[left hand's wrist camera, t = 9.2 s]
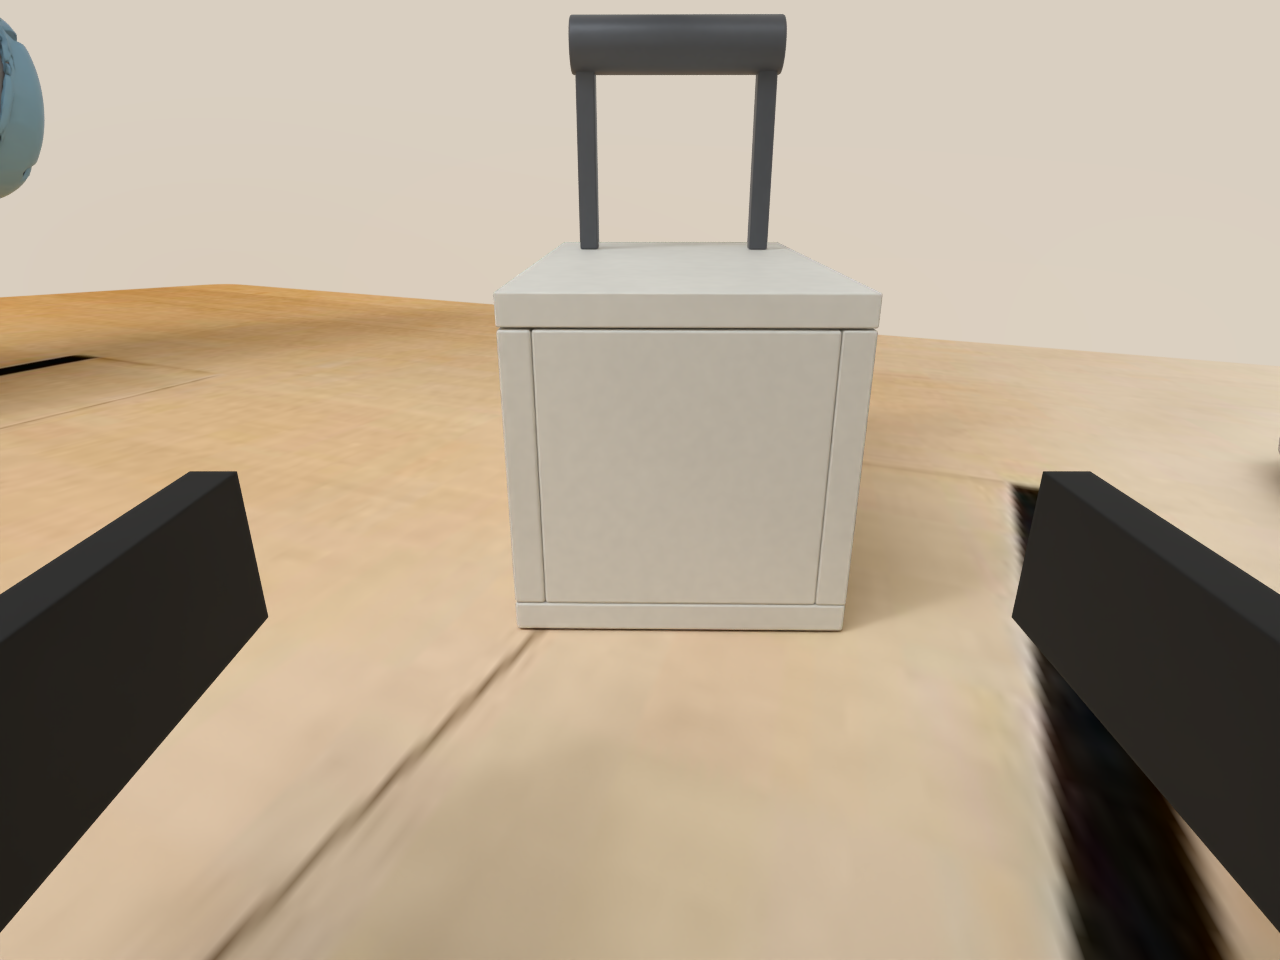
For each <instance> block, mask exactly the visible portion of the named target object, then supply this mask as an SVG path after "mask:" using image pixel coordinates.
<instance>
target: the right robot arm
mask: <svg viewBox="0 0 1280 960" xmlns="http://www.w3.org/2000/svg"><path fill="white" fill-rule="evenodd" d="M43 134H44V105H43V97H42V92H41V86H40V82H39V79H38V75H37V72H36V69H35V67H34V64H33V62H32V59H31V57H30V55H29V53H28V51H27V49H26V48H25V46H24V45H23V44H21V43H19V42H17V35H16V33H15V32H14V31H13V30H12V28H11V27H10V26H9V25H8V24H7V23H6V22H5V21H4V20H2V19H1V18H0V198H2V197H5V196H7V195H9V194H11V193H12V192H14V191H15V190H17V189H18V188H19V187H20V186H21V185H22V184H23V183H24V182H25V181H26V179H27V177H28V176H29V175H30V172H31V167H32V166H33V165H34V164H36V162H37V160H38V157H39V154H40V150H41V146H42V141H43Z"/></svg>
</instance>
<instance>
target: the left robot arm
mask: <svg viewBox="0 0 1280 960" xmlns="http://www.w3.org/2000/svg"><path fill="white" fill-rule="evenodd" d="M267 618H268V613H267V609H266V604H265V600H264V595H263V590H262V586H261V581H260V576H259V572H258V567H257V562H256V558H255V553H254V549H253V544H252V539H251V535H250V530H249V525H248V521H247V516H246V512H245V507H244V502H243V498H242V493H241V488H240V484H239V479H238V474H237V471H190V472H188V473H187V474H185V475H184V476H182V477H181V478H179V479H177V480H176V481H174V482H173V483H171V484H170V485H168V486H167V487H165V488H164V489H162V490H161V491H159V492H157V493H156V494H154V495H153V496H151V497H150V498H148V499H147V500H145V501H144V502H142V503H140V504H139V505H137V506H136V507H134V508H133V509H131V510H130V511H128V512H127V513H125V514H124V515H122V516H120V517H119V518H117V519H116V520H114V521H113V522H111V523H110V524H108V525H107V526H105V527H103V528H102V529H100V530H99V531H97V532H96V533H94V534H93V535H91V536H90V537H88V538H87V539H85V540H83V541H82V542H80V543H79V544H77V545H76V546H74V547H73V548H71V549H70V550H68V551H66V552H65V553H63V554H62V555H60V556H59V557H57V558H56V559H54V560H53V561H51V562H50V563H48V564H46V565H45V566H43V567H42V568H40V569H39V570H37V571H36V572H34V573H33V574H31V575H30V576H28V577H26V578H25V579H23V580H22V581H20V582H19V583H17V584H16V585H14V586H13V587H11V588H9V589H8V590H6V591H5V592H3V593H2V594H0V932H1V931H2V930H3V929H4V928H5V926H6V925H7V924H8V923H9V922H10V921H11V919H12V918H13V917H14V916H15V915H16V913H17V912H18V911H19V910H20V909H21V908H22V906H23V905H24V904H25V903H26V902H27V901H28V899H29V898H30V897H31V896H32V895H33V893H34V892H35V891H36V890H37V889H38V888H39V886H40V885H41V884H42V883H43V882H44V881H45V879H46V878H47V877H48V876H49V875H50V873H51V872H52V871H53V870H54V869H55V868H56V866H57V865H58V864H59V863H60V862H61V860H62V859H63V858H64V857H65V856H66V855H67V853H68V852H69V851H70V850H71V849H72V848H73V846H74V845H75V844H76V843H77V842H78V840H79V839H80V838H81V837H82V836H83V835H84V833H85V832H86V831H87V830H88V829H89V828H90V826H91V825H92V824H93V823H94V822H95V820H96V819H97V818H98V817H99V816H100V815H101V813H102V812H103V811H104V810H105V809H106V808H107V806H108V805H109V804H110V803H111V802H112V800H113V799H114V798H115V797H116V796H117V795H118V793H119V792H120V791H121V790H122V789H123V787H124V786H125V785H126V784H127V783H128V782H129V780H130V779H131V778H132V777H133V776H134V775H135V773H136V772H137V771H138V770H139V769H140V767H141V766H142V765H143V764H144V763H145V762H146V760H147V759H148V758H149V757H150V756H151V755H152V753H153V752H154V751H155V750H156V749H157V747H158V746H159V745H160V744H161V743H162V742H163V740H164V739H165V738H166V737H167V736H168V735H169V733H170V732H171V731H172V730H173V729H174V727H175V726H176V725H177V724H178V723H179V722H180V720H181V719H182V718H183V717H184V716H185V715H186V713H187V712H188V711H189V710H190V709H191V707H192V706H193V705H194V704H195V703H196V702H197V700H198V699H199V698H200V697H201V696H202V694H203V693H204V692H205V691H206V690H207V689H208V687H209V686H210V685H211V684H212V683H213V682H214V680H215V679H216V678H217V677H218V676H219V674H220V673H221V672H222V671H223V670H224V669H225V667H226V666H227V665H228V664H229V663H230V662H231V660H232V659H233V658H234V657H235V656H236V654H237V653H238V652H239V651H240V650H241V649H242V647H243V646H244V645H245V644H246V643H247V642H248V640H249V639H250V638H251V637H252V636H253V634H254V633H255V632H256V631H257V630H258V629H259V627H260V626H261V625H262V624H263V623H264V621H265V620H266V619H267ZM1012 618H1013V619H1014V620H1015V621H1016V623H1017V624H1018V625H1019V626H1020V627H1021V629H1022V630H1023V631H1024V632H1025V633H1026V634H1027V636H1028V637H1029V638H1030V639H1031V640H1032V642H1033V643H1034V644H1035V645H1036V646H1037V647H1038V649H1039V650H1040V651H1041V652H1042V653H1043V654H1044V656H1045V657H1046V658H1047V659H1048V660H1049V662H1050V663H1051V664H1052V665H1053V666H1054V667H1055V669H1056V670H1057V671H1058V672H1059V673H1060V674H1061V676H1062V677H1063V678H1064V679H1065V680H1066V682H1067V683H1068V684H1069V685H1070V686H1071V687H1072V689H1073V690H1074V691H1075V692H1076V693H1077V694H1078V696H1079V697H1080V698H1081V699H1082V700H1083V702H1084V703H1085V704H1086V705H1087V706H1088V707H1089V709H1090V710H1091V711H1092V712H1093V713H1094V715H1095V716H1096V717H1097V718H1098V719H1099V720H1100V722H1101V723H1102V724H1103V725H1104V726H1105V727H1106V729H1107V730H1108V731H1109V732H1110V733H1111V735H1112V736H1113V737H1114V738H1115V739H1116V740H1117V742H1118V743H1119V744H1120V745H1121V746H1122V747H1123V749H1124V750H1125V751H1126V752H1127V753H1128V755H1129V756H1130V757H1131V758H1132V759H1133V760H1134V762H1135V763H1136V764H1137V765H1138V766H1139V767H1140V769H1141V770H1142V771H1143V772H1144V773H1145V775H1146V776H1147V777H1148V778H1149V779H1150V780H1151V782H1152V783H1153V784H1154V785H1155V786H1156V788H1157V789H1158V790H1159V791H1160V792H1161V793H1162V795H1163V796H1164V797H1165V798H1166V799H1167V800H1168V802H1169V803H1170V804H1171V805H1172V806H1173V808H1174V809H1175V810H1176V811H1177V812H1178V813H1179V815H1180V816H1181V817H1182V818H1183V819H1184V820H1185V822H1186V823H1187V824H1188V825H1189V826H1190V828H1191V829H1192V830H1193V831H1194V832H1195V833H1196V835H1197V836H1198V837H1199V838H1200V839H1201V840H1202V842H1203V843H1204V844H1205V845H1206V846H1207V848H1208V849H1209V850H1210V851H1211V852H1212V853H1213V855H1214V856H1215V857H1216V858H1217V859H1218V860H1219V862H1220V863H1221V864H1222V865H1223V866H1224V868H1225V869H1226V870H1227V871H1228V872H1229V873H1230V875H1231V876H1232V877H1233V878H1234V879H1235V881H1236V882H1237V883H1238V884H1239V885H1240V886H1241V888H1242V889H1243V890H1244V891H1245V892H1246V893H1247V895H1248V896H1249V897H1250V898H1251V899H1252V901H1253V902H1254V903H1255V904H1256V905H1257V906H1258V908H1259V909H1260V910H1261V911H1262V912H1263V913H1264V915H1265V916H1266V917H1267V918H1268V919H1269V921H1270V922H1271V923H1272V924H1273V925H1274V926H1275V928H1276V929H1277V930H1278V931H1279V932H1280V594H1278V593H1277V592H1275V591H1274V590H1272V589H1271V588H1269V587H1267V586H1266V585H1264V584H1263V583H1261V582H1260V581H1258V580H1257V579H1255V578H1254V577H1252V576H1250V575H1249V574H1247V573H1246V572H1244V571H1243V570H1241V569H1240V568H1238V567H1237V566H1235V565H1234V564H1232V563H1230V562H1229V561H1227V560H1226V559H1224V558H1223V557H1221V556H1220V555H1218V554H1217V553H1215V552H1214V551H1212V550H1210V549H1209V548H1207V547H1206V546H1204V545H1203V544H1201V543H1200V542H1198V541H1197V540H1195V539H1193V538H1192V537H1190V536H1189V535H1187V534H1186V533H1184V532H1183V531H1181V530H1180V529H1178V528H1177V527H1175V526H1173V525H1172V524H1170V523H1169V522H1167V521H1166V520H1164V519H1163V518H1161V517H1160V516H1158V515H1156V514H1155V513H1153V512H1152V511H1150V510H1149V509H1147V508H1146V507H1144V506H1143V505H1141V504H1140V503H1138V502H1136V501H1135V500H1133V499H1132V498H1130V497H1129V496H1127V495H1126V494H1124V493H1123V492H1121V491H1119V490H1118V489H1116V488H1115V487H1113V486H1112V485H1110V484H1109V483H1107V482H1106V481H1104V480H1103V479H1101V478H1099V477H1098V476H1096V475H1095V474H1093V473H1092V472H1090V471H1043V474H1042V479H1041V484H1040V488H1039V493H1038V498H1037V502H1036V507H1035V512H1034V516H1033V521H1032V525H1031V530H1030V535H1029V539H1028V544H1027V549H1026V553H1025V558H1024V562H1023V567H1022V572H1021V576H1020V581H1019V586H1018V590H1017V595H1016V600H1015V604H1014V609H1013V613H1012Z"/></svg>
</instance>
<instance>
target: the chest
mask: <svg viewBox="0 0 1280 960" xmlns="http://www.w3.org/2000/svg"><path fill="white" fill-rule="evenodd" d="M496 334H497V348H498V362H499V376H500V390H501V404H502V419H503V433H504V447H505V461H506V475H507V489H508V503H509V517H510V532H511V546H512V560H513V574H514V588H515V599H516V601H517V602H516V616H517V626H518V627H519V628H594V629H719V630H842V627H843V619H844V610H845V606H844V605H845V603H846V596H847V588H848V579H849V571H850V563H851V554H852V546H853V537H854V529H855V521H856V512H857V504H858V495H859V487H860V478H861V470H862V462H863V453H864V445H865V436H866V428H867V420H868V411H869V403H870V394H871V386H872V378H873V369H874V361H875V352H876V344H877V335H878V332H877V331H876V330H875V329H873V328H572V327H500V328H499V329H498V330H497V333H496Z"/></svg>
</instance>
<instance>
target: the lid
mask: <svg viewBox="0 0 1280 960" xmlns="http://www.w3.org/2000/svg"><path fill="white" fill-rule="evenodd" d="M786 38H787V24H786V17H785V15H783V14H702V15H700V14H699V15H698V14H693V15H570V18H569V55H570V65H571V71H572V74H573V75H576V109H577V145H578V181H579V217H580V242H564V243H563V244H561V245H560V246H558V247H557V248H556V249H554V250H553V251H551V252H550V253H549V254H547V255H546V256H544V257H543V258H541V259H540V260H539V261H537V262H536V263H535V264H533V265H532V266H530V267H529V268H528V269H526V270H525V271H523V272H522V273H521V274H519V275H518V276H516V277H515V278H513V279H512V280H511V281H509V282H508V283H506V284H505V285H504V286H502V287H501V288H500V289H498V290H497V291H495V292H494V294H493V297H494V311H495V325H496V327H572V328H878V327H879V320H880V311H881V303H882V293H880V292H878V291H876V290H874V289H872V288H870V287H868V286H866V285H864V284H862V283H860V282H858V281H856V280H853V279H851V278H849V277H847V276H845V275H843V274H841V273H839V272H837V271H835V270H833V269H831V268H829V267H827V266H825V265H823V264H821V263H819V262H817V261H815V260H812V259H810V258H808V257H806V256H804V255H802V254H800V253H798V252H796V251H794V250H792V249H790V248H788V247H786V246H784V245H782V244H780V243H767V237H768V221H769V205H770V188H771V172H772V155H773V139H774V123H775V106H776V90H777V75H779V74H780V73H781V71H782V68H783V64H784V58H785V50H786ZM596 75H756V86H755V105H754V125H753V144H752V163H751V183H750V203H749V222H748V241H747V242H599V217H598V164H597V112H596Z"/></svg>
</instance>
